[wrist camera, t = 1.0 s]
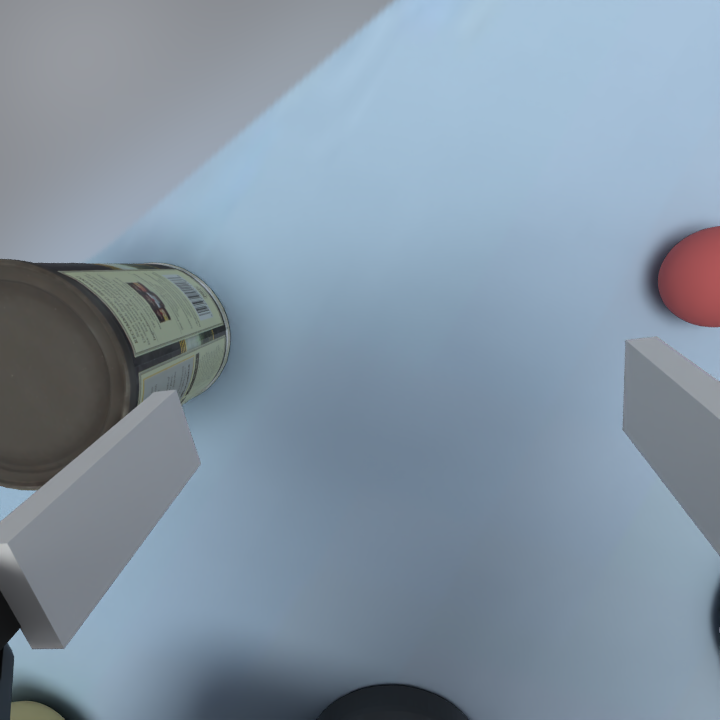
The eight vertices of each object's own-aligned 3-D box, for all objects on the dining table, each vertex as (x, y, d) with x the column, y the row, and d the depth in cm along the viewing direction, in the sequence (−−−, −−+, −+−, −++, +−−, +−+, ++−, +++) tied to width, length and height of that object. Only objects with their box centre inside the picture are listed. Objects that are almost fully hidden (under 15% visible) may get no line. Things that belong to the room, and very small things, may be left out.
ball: (731, 316, 32) (809, 327, 26) (638, 325, 32) (695, 338, 27) (734, 225, 31) (816, 215, 25) (639, 235, 31) (698, 227, 26)
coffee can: (72, 367, 35) (-129, 432, 21) (119, 237, 33) (-70, 215, 19) (200, 427, 36) (83, 528, 22) (254, 302, 34) (163, 325, 20)
